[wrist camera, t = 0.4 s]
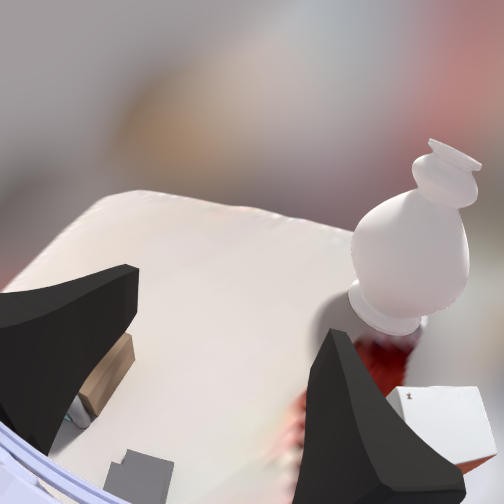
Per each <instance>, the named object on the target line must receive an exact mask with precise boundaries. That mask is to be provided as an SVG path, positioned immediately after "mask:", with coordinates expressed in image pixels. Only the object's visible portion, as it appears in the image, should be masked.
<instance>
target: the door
mask: <svg viewBox="0 0 504 504" xmlns="http://www.w3.org/2000/svg"><path fill="white" fill-rule="evenodd" d="M64 419H67V420H69V421H71V420H72V419H73V421H74V422H75V424H76V425H77V426H78V427H79V428H87V427H88V426H89V425H90V423H91V419H90V417H89V415H88V414H87V412H86V410H85V408H84V406H83V405H82V403H81V401H80V399H79V397H78V395H76V397H75V399H74V401H73V402H72V404H71V406H70V408H69V410H68V411H67V413H66V415H65V417H64Z"/></svg>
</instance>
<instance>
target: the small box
mask: <svg viewBox="0 0 504 504" xmlns="http://www.w3.org/2000/svg"><path fill="white" fill-rule="evenodd" d="M386 399H387V401H388V402H389V403H390V405H391V406H392V407H393V408H394V410H395V411H396V412H397V413H398V415H399V416H400V417H401V418H402V419H403V420H404V422H405V423H406V424H407V425H408V426H409V427H410V428H411V429H412V430H413V431H414V432H415V433H416V434H417V435H418V436H419V437H420V438H421V439H422V440H423V441H424V442H426V443H427V444H428V445H429V446H430V447H431V448H433V449H434V450H435V451H436V452H437V453H439V454H440V455H441V456H443V457H444V458H445V459H447V460H448V461H450V462H451V463H453V464H454V465H456V466H457V467H458V468H460V469H461V470H462V473H463V475H464V474H466V473H467V472H469V471H471V470H473V469H474V468H476V467H478V466H479V465H481V464H482V463H484V462H486V461H487V460H489V459H490V458H492V457H494V456H495V455H496V454H497V450H496V446H495V442H494V439H493V435H492V431H491V428H490V424H489V421H488V418H487V414H486V411H485V408H484V405H483V402H482V399H481V396H480V393H479V390H478V387H474V386H473V387H471V386H468V387H449V386H429V387H404V386H397V387H395V388H394V389H393V390H392V392H391V393H390V394H389V395H388V396H387V397H386Z"/></svg>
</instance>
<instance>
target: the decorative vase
mask: <svg viewBox="0 0 504 504" xmlns="http://www.w3.org/2000/svg"><path fill="white" fill-rule="evenodd" d="M428 145H429V146H430V147H431V148H432V149H433V153H431V154H427V155H424V156H421V157H419V158H417V159H416V160H415V162H414V163H413V165H412V173H413V176H414V179H415V181H416V183H417V185H418V188H417V189H414V190H411V191H409V192H406V193H403V194H400V195H398V196H396V197H393V198H391V199H389V200H387V201H385V202H383V203H382V204H380V205H378V206H377V207H375V208H374V209H372V210H371V211H370V212H369V213H368V214H366V215H365V216H364V217H363V219H362V220H361V221H360V223H359V224H358V226H357V228H356V230H355V232H354V234H353V237H352V242H351V256H352V261H353V265H354V268H355V271H356V274H357V277H358V279H357V280H356V281H354V282H353V283H352V285H351V287H350V289H349V293H348V297H349V301H350V304H351V306H352V308H353V310H354V311H355V313H356V314H357V315H358V316H359V317H360V318H361V319H362V320H363V321H364V322H365V323H367V324H368V325H369V326H371V327H372V328H374V329H376V330H378V331H380V332H383V333H385V334H389V335H394V336H405V335H409V334H411V333H413V332H414V331H415V330H416V329H417V328H418V326H419V325H420V322H421V316H424V315H428V314H432V313H435V312H438V311H441V310H443V309H445V308H447V307H449V306H450V305H451V304H453V303H454V302H455V301H456V300H457V298H458V297H459V296H460V294H461V293H462V291H463V289H464V287H465V284H466V282H467V278H468V273H469V251H468V243H467V238H466V234H465V230H464V227H463V223H462V220H461V217H460V214H459V211H458V209H459V208H463V207H466V206H468V205H470V204H472V203H474V202H475V201H476V199H477V196H478V188H477V185H476V182H475V180H474V178H473V176H472V174H471V173H472V170H480V169H481V166H482V164H480V163H479V162H478V161H476V160H474V159H473V158H471V157H469V156H467V155H466V154H464V153H462V152H460V151H458V150H456V149H454V148H452V147H450V146H448V145H446V144H444V143H441V142H439V141H436V140H434V139H431V138H430V139H429V142H428Z"/></svg>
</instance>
